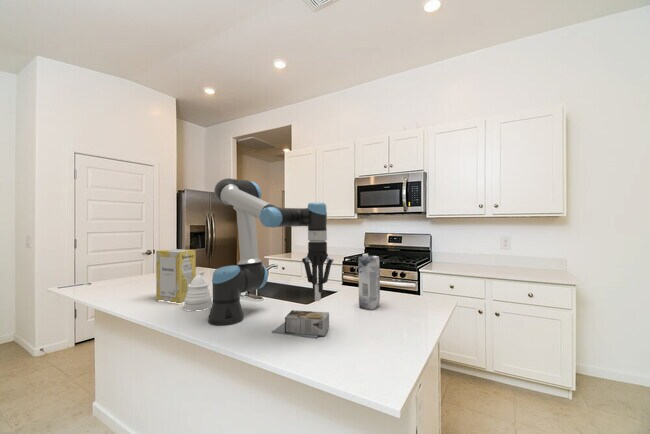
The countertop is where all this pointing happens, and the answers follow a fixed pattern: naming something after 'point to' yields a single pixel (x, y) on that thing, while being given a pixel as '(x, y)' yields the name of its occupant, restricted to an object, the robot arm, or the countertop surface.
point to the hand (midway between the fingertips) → (317, 300)
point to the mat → (282, 331)
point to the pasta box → (174, 274)
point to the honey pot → (198, 294)
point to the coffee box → (307, 322)
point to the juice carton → (369, 282)
